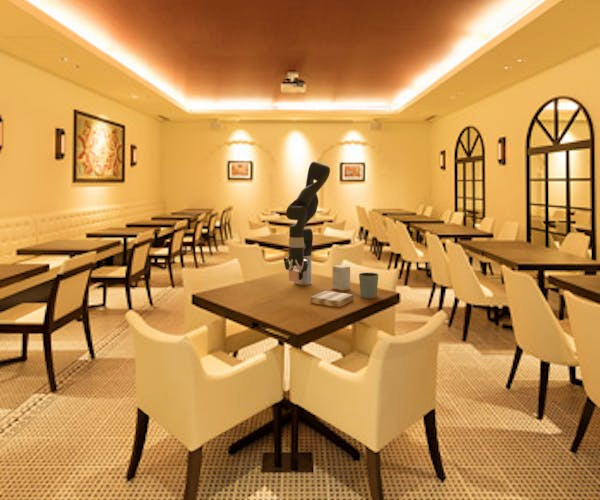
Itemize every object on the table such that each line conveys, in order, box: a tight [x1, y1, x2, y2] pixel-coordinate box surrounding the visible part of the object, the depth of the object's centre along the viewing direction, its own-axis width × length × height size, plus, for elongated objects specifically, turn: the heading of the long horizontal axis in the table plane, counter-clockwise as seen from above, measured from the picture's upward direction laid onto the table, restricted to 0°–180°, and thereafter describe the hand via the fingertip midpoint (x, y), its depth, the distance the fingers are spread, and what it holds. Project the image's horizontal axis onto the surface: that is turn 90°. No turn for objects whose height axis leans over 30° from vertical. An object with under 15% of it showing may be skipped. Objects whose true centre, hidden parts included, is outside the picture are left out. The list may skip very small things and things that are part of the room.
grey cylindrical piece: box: [358, 272, 379, 299], centre depth 246 cm, size 10×10×12 cm
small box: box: [332, 264, 351, 291], centre depth 263 cm, size 8×6×13 cm
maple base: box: [310, 290, 354, 308], centre depth 236 cm, size 16×16×3 cm
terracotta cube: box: [288, 268, 303, 282], centre depth 236 cm, size 5×5×5 cm
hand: (295, 278), depth 236 cm, fingers closed on terracotta cube, 5 cm apart
